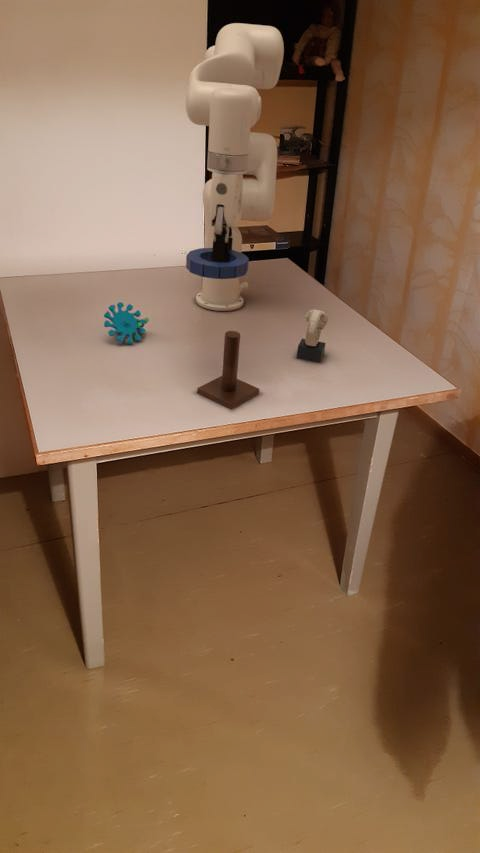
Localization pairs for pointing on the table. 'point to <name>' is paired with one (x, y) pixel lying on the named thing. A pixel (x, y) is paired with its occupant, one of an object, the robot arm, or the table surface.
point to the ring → (216, 264)
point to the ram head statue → (313, 337)
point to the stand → (229, 378)
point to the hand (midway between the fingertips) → (221, 258)
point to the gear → (125, 323)
